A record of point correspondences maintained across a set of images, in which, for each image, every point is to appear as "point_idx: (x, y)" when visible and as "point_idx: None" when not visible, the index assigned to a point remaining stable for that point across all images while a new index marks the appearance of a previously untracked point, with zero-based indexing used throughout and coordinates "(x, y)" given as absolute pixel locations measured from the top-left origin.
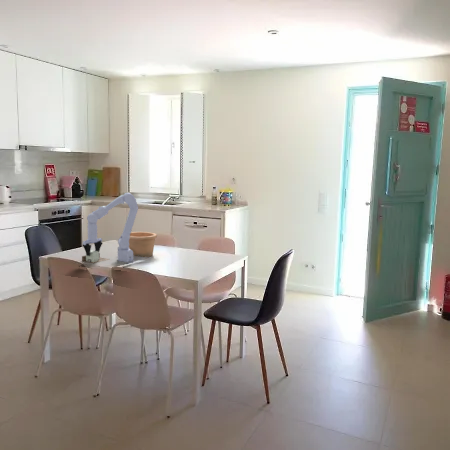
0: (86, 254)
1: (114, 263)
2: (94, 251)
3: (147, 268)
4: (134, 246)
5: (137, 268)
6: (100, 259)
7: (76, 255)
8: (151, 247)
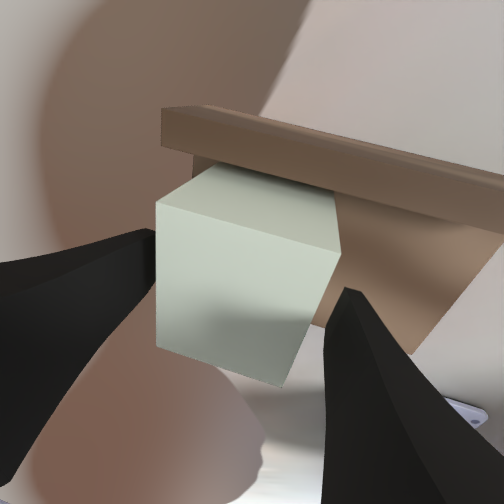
0: (131, 233)
1: None
2: (244, 337)
3: (281, 496)
4: None
5: (261, 471)
6: (369, 278)
7: None
8: None
